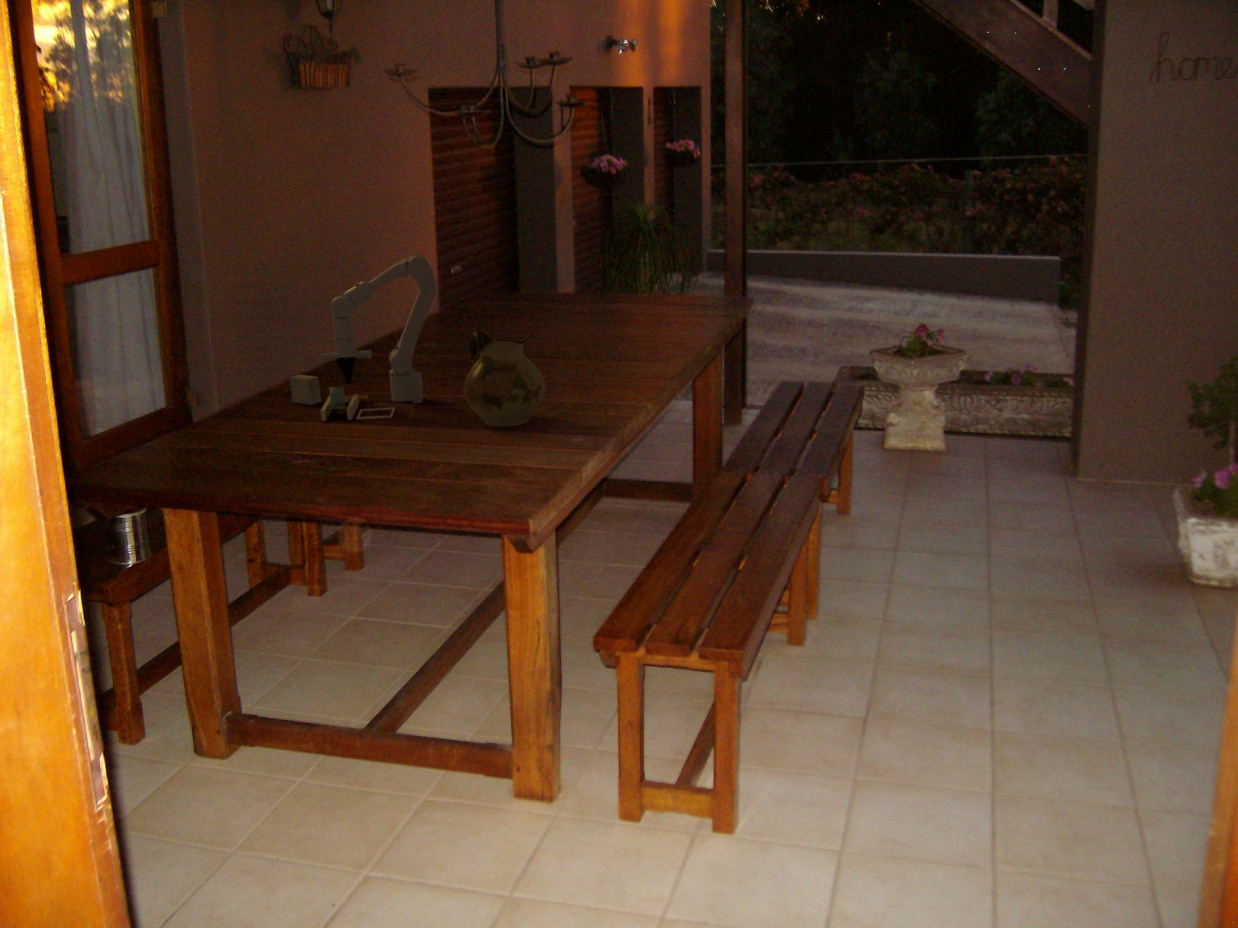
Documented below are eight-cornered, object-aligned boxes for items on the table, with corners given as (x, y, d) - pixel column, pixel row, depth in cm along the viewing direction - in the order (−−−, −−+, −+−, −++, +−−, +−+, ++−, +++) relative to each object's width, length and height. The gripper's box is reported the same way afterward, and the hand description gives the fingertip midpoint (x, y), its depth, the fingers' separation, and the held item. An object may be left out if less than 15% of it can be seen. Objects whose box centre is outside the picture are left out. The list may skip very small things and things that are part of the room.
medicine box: (322, 405, 369) (319, 376, 367) (311, 408, 366) (308, 379, 363) (303, 402, 374) (300, 374, 371) (292, 405, 370) (289, 377, 367)
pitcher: (534, 432, 331) (529, 340, 324) (450, 431, 335) (444, 340, 328) (555, 412, 352) (550, 326, 345) (476, 411, 356) (470, 326, 349)
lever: (368, 408, 368) (367, 394, 368) (359, 407, 348) (358, 393, 348) (337, 409, 367) (336, 396, 367) (327, 409, 348) (326, 395, 348)
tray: (395, 412, 358) (395, 407, 357) (392, 420, 348) (392, 415, 348) (360, 413, 357) (360, 409, 357) (356, 422, 348) (356, 417, 347)
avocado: (346, 406, 353) (344, 387, 353) (343, 406, 349) (342, 386, 349) (331, 407, 353) (330, 388, 352) (329, 407, 349) (328, 387, 348)
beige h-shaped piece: (359, 407, 365) (358, 394, 364) (352, 422, 348) (350, 408, 347) (330, 408, 364) (329, 395, 363) (321, 424, 347) (320, 410, 346)
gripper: (370, 333, 365) (375, 378, 369) (321, 336, 364) (326, 381, 368) (368, 338, 358) (372, 384, 362) (317, 341, 357) (322, 386, 361)
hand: (349, 383), depth 365 cm, fingers closed
